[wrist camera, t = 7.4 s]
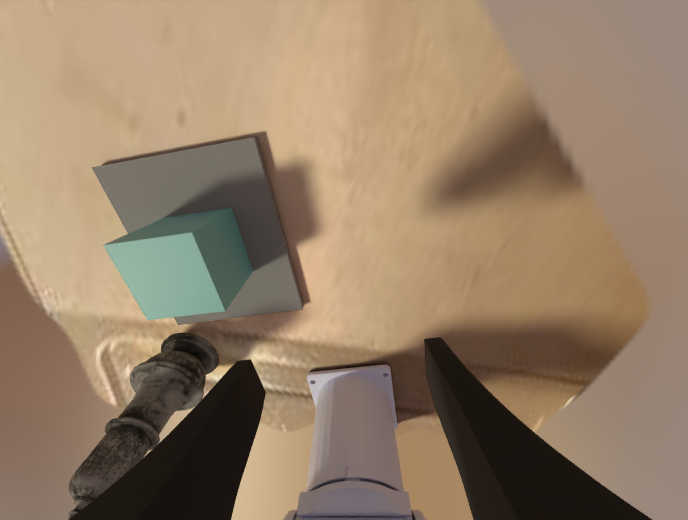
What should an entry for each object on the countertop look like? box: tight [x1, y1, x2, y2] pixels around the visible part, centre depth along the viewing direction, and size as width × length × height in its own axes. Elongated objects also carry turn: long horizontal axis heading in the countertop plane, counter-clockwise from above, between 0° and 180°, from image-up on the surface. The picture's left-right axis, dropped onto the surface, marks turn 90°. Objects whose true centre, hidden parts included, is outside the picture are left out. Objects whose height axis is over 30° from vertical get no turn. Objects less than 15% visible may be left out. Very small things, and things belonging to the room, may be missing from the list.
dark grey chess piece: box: [68, 333, 219, 520], centre depth 20 cm, size 6×6×12 cm
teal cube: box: [103, 208, 253, 320], centre depth 17 cm, size 5×5×5 cm
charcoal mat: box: [92, 137, 304, 325], centre depth 20 cm, size 13×11×1 cm
